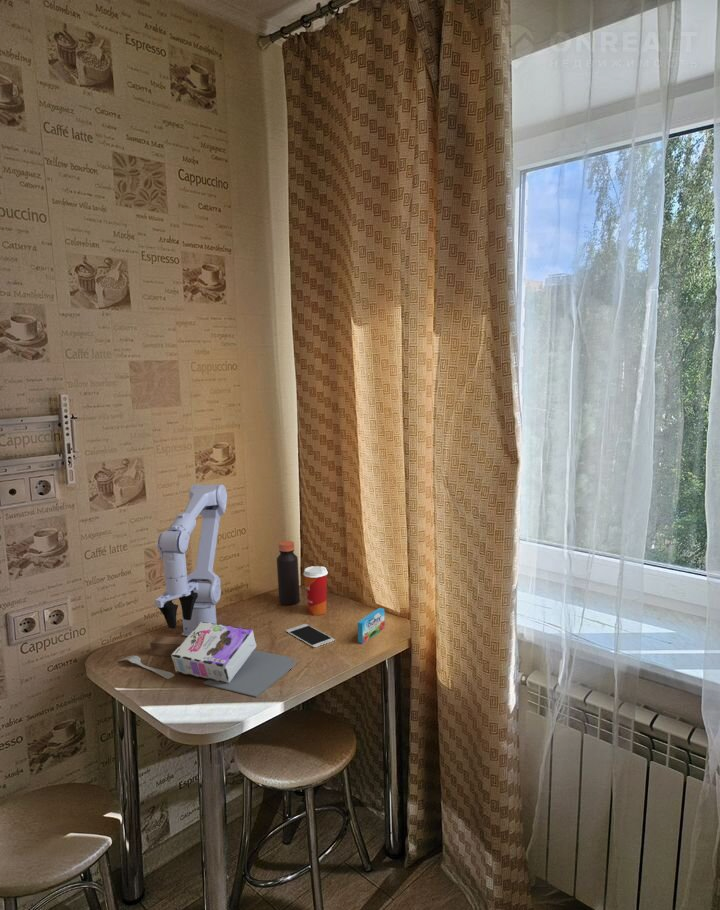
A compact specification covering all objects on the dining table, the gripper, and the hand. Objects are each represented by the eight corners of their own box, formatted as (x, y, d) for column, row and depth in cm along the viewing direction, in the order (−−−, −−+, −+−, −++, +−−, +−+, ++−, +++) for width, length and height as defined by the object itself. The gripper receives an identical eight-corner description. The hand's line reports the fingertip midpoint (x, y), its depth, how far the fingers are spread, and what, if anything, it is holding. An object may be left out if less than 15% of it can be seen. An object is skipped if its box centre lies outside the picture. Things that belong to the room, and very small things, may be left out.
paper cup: (308, 607, 204) (306, 565, 202) (331, 607, 203) (329, 565, 201) (302, 617, 197) (300, 573, 195) (327, 617, 196) (325, 573, 194)
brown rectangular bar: (151, 654, 175) (149, 642, 174) (158, 648, 179) (157, 636, 178) (205, 657, 172) (204, 645, 171) (211, 651, 175) (210, 639, 175)
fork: (168, 689, 161) (168, 679, 160) (115, 662, 172) (115, 653, 171) (177, 684, 163) (177, 674, 163) (124, 658, 174) (124, 649, 173)
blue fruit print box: (380, 627, 187) (380, 607, 186) (385, 628, 186) (384, 608, 185) (358, 643, 177) (357, 622, 176) (362, 644, 176) (362, 623, 175)
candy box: (224, 665, 154) (169, 655, 160) (230, 684, 157) (175, 673, 163) (253, 628, 166) (200, 620, 172) (257, 646, 168) (205, 637, 174)
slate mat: (203, 684, 157) (203, 683, 157) (252, 650, 175) (252, 649, 175) (256, 697, 150) (256, 696, 150) (301, 660, 168) (301, 659, 168)
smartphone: (305, 626, 191) (305, 622, 191) (335, 642, 179) (335, 639, 179) (285, 633, 187) (285, 629, 187) (314, 650, 175) (314, 647, 174)
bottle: (285, 597, 214) (282, 539, 211) (303, 599, 211) (300, 540, 208) (275, 604, 208) (271, 545, 205) (293, 607, 205) (290, 546, 202)
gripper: (167, 585, 162) (172, 636, 164) (205, 568, 175) (209, 615, 177) (147, 582, 165) (151, 632, 167) (185, 565, 178) (189, 612, 180)
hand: (179, 623), depth 172 cm, fingers open, 5 cm apart
